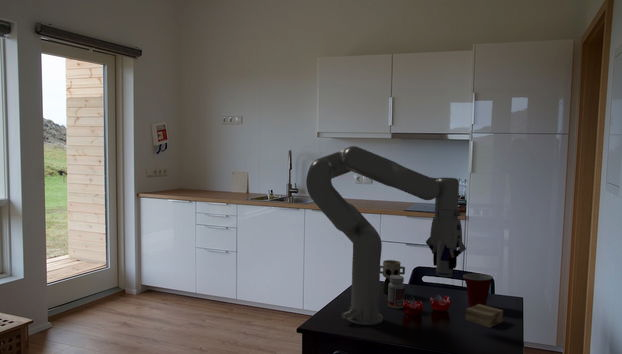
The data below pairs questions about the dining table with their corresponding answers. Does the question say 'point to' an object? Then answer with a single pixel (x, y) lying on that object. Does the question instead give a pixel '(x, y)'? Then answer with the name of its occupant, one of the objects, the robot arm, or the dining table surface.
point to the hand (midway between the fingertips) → (444, 266)
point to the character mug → (390, 271)
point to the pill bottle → (396, 291)
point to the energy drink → (443, 260)
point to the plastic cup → (477, 288)
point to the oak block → (484, 315)
